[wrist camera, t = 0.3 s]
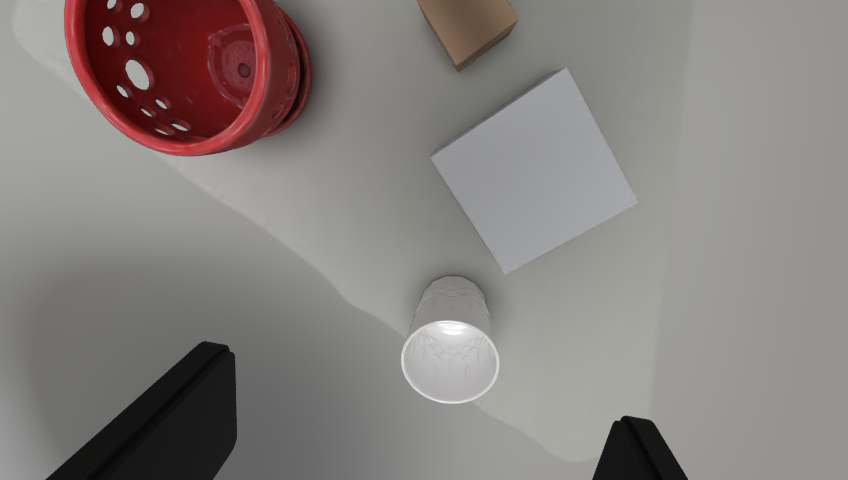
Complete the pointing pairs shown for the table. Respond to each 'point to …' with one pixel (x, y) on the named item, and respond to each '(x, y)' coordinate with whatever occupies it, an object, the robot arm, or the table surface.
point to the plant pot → (191, 70)
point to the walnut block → (468, 26)
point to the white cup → (451, 343)
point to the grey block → (535, 172)
